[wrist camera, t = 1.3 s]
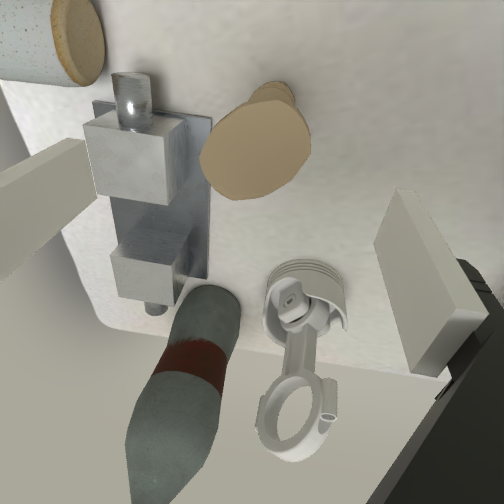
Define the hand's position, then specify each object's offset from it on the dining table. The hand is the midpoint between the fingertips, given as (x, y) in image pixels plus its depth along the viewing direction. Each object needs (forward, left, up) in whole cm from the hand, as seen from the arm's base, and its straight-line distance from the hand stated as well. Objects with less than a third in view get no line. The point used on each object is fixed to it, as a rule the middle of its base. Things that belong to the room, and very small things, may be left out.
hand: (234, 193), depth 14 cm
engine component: (-7, +23, -20) cm, 31 cm away
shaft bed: (+12, +13, -20) cm, 27 cm away
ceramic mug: (+20, -4, -20) cm, 29 cm away
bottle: (+5, +29, -20) cm, 36 cm away
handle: (0, 0, -20) cm, 20 cm away
